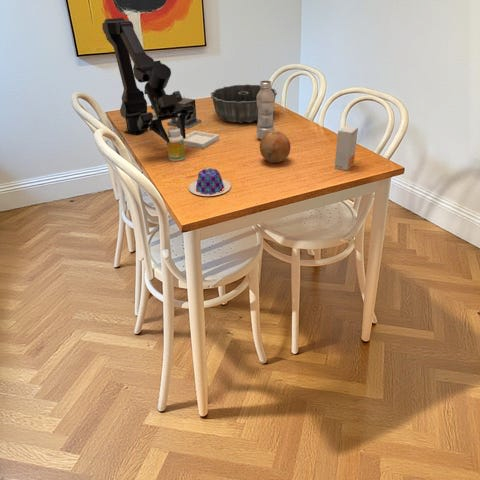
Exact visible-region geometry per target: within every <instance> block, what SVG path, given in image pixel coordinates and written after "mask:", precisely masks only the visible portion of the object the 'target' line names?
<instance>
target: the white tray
mask: <svg viewBox="0 0 480 480" xmlns="http://www.w3.org/2000/svg"><path fill="white" fill-rule="evenodd" d="M185 135H186V138H185V139H183V141H184V147H189V148H190V147H191V148H195V149H200V150H205V149H207V147H209V146H211V145H213V144H214V143H216V142H218V141H219V140H220V135H219V134H216V133H212V132H211V133H210V132H206V131H205V132H203V131H199V130H193V131H191V132H189V133H187V134H185Z"/></svg>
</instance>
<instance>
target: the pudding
mask: <svg viewBox="0 0 480 480" xmlns="http://www.w3.org/2000/svg"><path fill="white" fill-rule="evenodd" d="M224 185H225V190H224ZM231 187H232V185H231V183H230V181H228V180H226V179H224V178H222V176H221V173H220V171H218V170H217V169H216V168H212V167H211V168H204V169H201V170H200V171H198V175H197V180H194V181H193V182H191V183H190V185H189V186H188V190H189V191H190V192H191V193H192V194H195V195H198V196H204V197H212V196H218V195H223V194H225V193H227V192H229V190H230V189H231ZM223 190H224V191H223ZM196 191H197V192H196ZM220 191H223V192H221V193H220ZM216 192H217V193H216ZM200 193H201V194H200ZM206 194H207V195H206ZM209 194H212V195H209Z"/></svg>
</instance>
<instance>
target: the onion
mask: <svg viewBox="0 0 480 480" xmlns="http://www.w3.org/2000/svg"><path fill="white" fill-rule="evenodd" d="M259 152H260V155H261V156H262V158H263V159H265V160H266V161H268V162H270V163H273V164H276V163H281V162H283V161H284V160H286V159H287V158H288V157H289V156H290V153H291V141H290V140H289V137H288V136H287V135H286V134H285V133H284V132H281V131H279V130H274V131H270V132H267V133H266V134H265V135H264V136H263V138H262V140H260V143H259Z"/></svg>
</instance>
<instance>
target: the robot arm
mask: <svg viewBox="0 0 480 480" xmlns="http://www.w3.org/2000/svg"><path fill="white" fill-rule="evenodd" d="M101 26H102V31H103V33H104V36H105V38H106V40H107V41H108V43H109V44H110V45H111V46H112V47H113V50H114V54H115V59H116V62H117V66H118V71H119V74H120V77H121V83H122V87H123V92H122V95H121V105H120V109H119V113H120V115H121V117H122V118H123V119H125V123H126V124H125V125H126V129H127V130H124V133H125V134H131V135H135V136H137V135H138V136H139V135H140V134H142V133H145V132H147V131H148V130H149V131H152V132H154V133H155V134H157V135H158V136H159V137H161V138H162V139H163V140H164V141H165V142H166V144H167V143H169V138H168V136H169V135H168V133H167V131H166V129H165V127H164V126H163V122H162V121H167V120H171V119H173V118H176V120H177V122H176V126H177V127H176V126H175V127H176V128H179V129H180V133H181V134H180V135H182V136H183V139H185V138H186V135H187V134H186V128H185V121H187V120H190V119H192V117H193V115H194V113H195V111H196V112H197V110H195V108H194V106H193V105H191V104H190V105H185V106H181V108H180V110H179V111H176V112H174V111H173V110H174V109H175V108H176V106H175V105H176V104H177V105H178V102H181V101H182V98H183V97H182V94H181V92H180V90H176V91H173V92H172V93H171V94H168V93H166V91H165V89H166V88H167V85H168V83H169V80H170V78H171V75H172V70H171V68H170V67H169V66H168V65H166V64H165V63H162V62H161V60H154V59H153V58H152V57H151V56H149V55H147V53H146V51H145V49H144V47H143V44H142V43H141V42H140V39H139V37H138V36H137V33H136V32H135V30H134V28H135V27H134V24H133V22H132V21H131V20H126V19H125V18H124V17H115V18H113V17H112V18H105V19H104V21H103V22H102V25H101ZM131 60H132V61H131ZM132 62H133V64H132ZM137 82H138V83H145V85H144V91H143V90H141V89H140V88H139V87H138V86H137ZM145 95H147V98H148V100H149V103H150V104H151V106H150V108H151V110H153V111H154V114H153V112H150V111H149V112H148V101H147V100H146V98H145Z"/></svg>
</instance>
